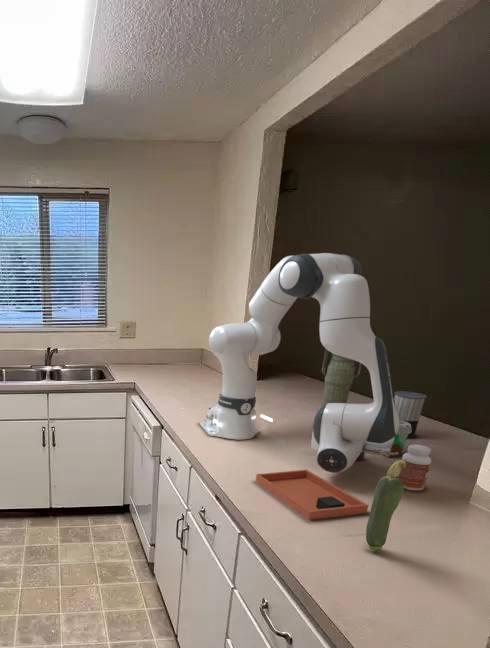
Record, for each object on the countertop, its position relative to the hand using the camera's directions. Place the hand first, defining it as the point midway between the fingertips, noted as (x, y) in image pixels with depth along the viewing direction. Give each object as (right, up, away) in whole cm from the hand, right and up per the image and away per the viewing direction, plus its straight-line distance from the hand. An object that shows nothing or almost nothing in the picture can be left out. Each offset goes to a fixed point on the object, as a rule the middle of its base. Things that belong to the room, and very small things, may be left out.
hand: (354, 432), depth 133 cm
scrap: (-25, -19, -30) cm, 44 cm away
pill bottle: (+4, -15, -17) cm, 23 cm away
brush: (0, -8, +2) cm, 8 cm away
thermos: (+9, +2, +30) cm, 31 cm away
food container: (+16, -6, +6) cm, 18 cm away
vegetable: (-24, -25, -45) cm, 56 cm away
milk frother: (+27, -1, +22) cm, 34 cm away
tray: (-27, -17, -23) cm, 39 cm away
